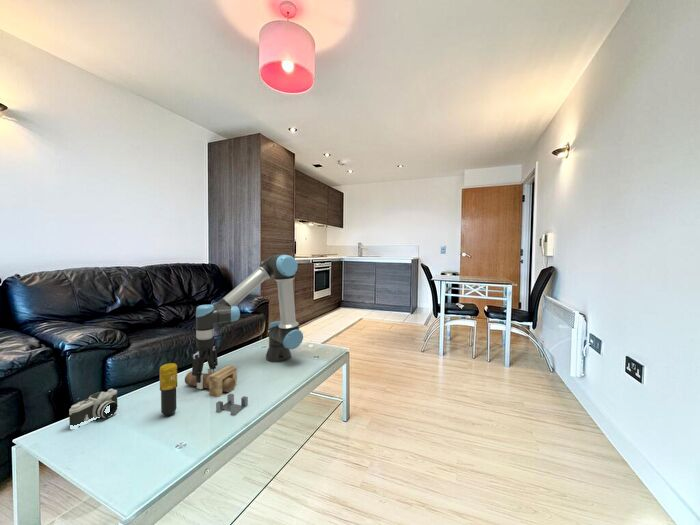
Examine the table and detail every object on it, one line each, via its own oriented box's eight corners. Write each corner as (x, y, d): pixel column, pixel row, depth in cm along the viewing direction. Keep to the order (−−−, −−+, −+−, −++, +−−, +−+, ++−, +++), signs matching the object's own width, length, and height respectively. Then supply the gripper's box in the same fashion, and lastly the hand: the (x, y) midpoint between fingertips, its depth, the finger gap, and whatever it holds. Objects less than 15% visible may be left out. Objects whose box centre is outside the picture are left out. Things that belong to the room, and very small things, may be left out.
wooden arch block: (209, 395, 126) (209, 375, 125) (228, 383, 137) (228, 365, 137) (218, 397, 124) (218, 377, 124) (236, 385, 136) (236, 367, 135)
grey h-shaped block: (230, 402, 120) (230, 393, 120) (247, 406, 117) (247, 396, 117) (216, 412, 112) (216, 403, 112) (234, 416, 110) (234, 406, 110)
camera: (82, 433, 99) (81, 405, 98) (64, 429, 101) (63, 402, 101) (127, 409, 114) (127, 385, 114) (111, 406, 116) (110, 382, 116)
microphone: (151, 408, 115) (150, 361, 114) (181, 411, 113) (180, 362, 112) (139, 417, 109) (138, 366, 108) (170, 419, 107) (169, 368, 107)
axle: (185, 386, 134) (184, 375, 133) (195, 380, 139) (194, 369, 139) (226, 394, 127) (225, 382, 126) (235, 387, 133) (234, 375, 132)
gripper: (213, 331, 143) (213, 375, 144) (181, 342, 125) (182, 393, 126) (225, 332, 141) (226, 377, 142) (195, 344, 123) (195, 396, 124)
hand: (205, 385), depth 134 cm, fingers closed on axle, 6 cm apart
